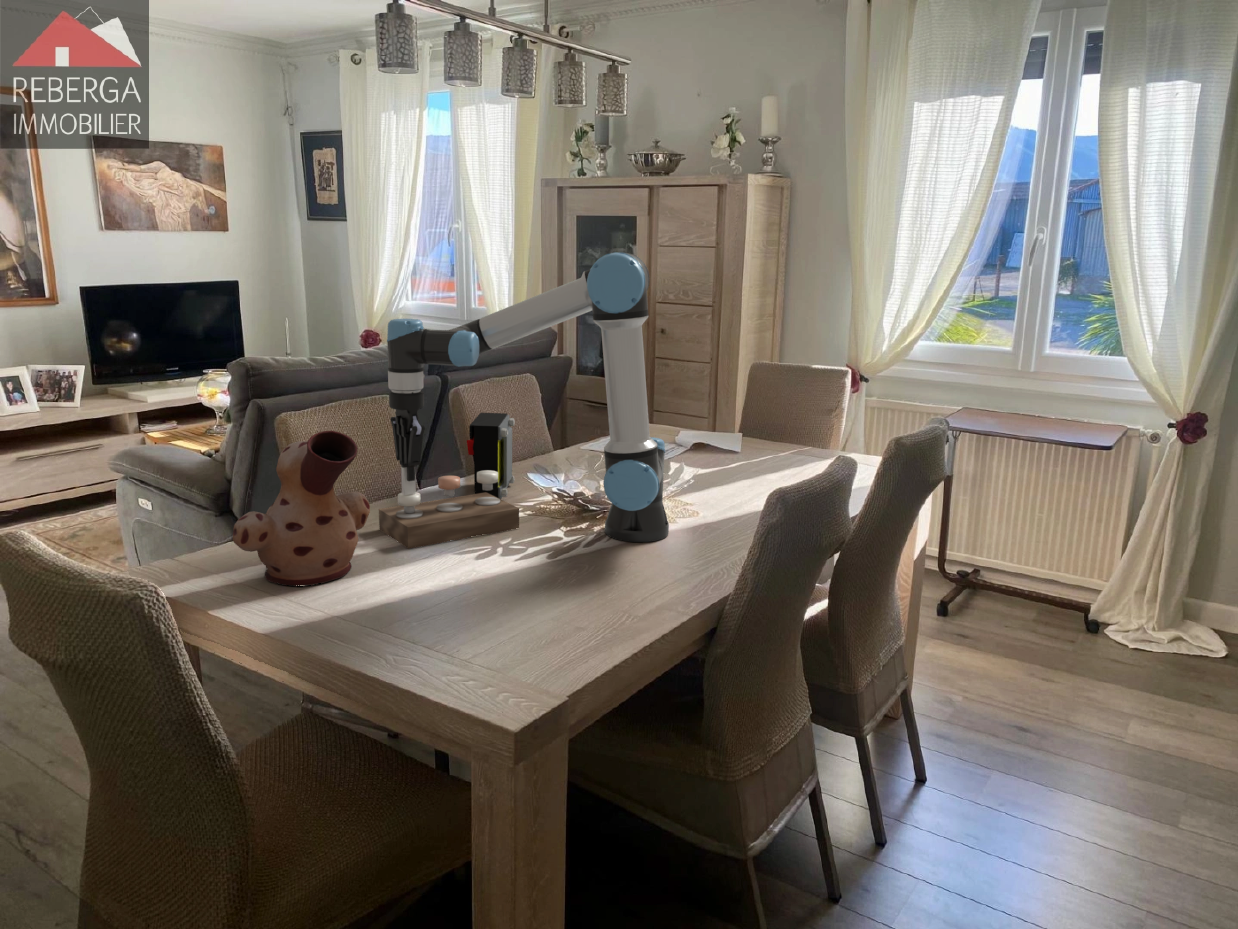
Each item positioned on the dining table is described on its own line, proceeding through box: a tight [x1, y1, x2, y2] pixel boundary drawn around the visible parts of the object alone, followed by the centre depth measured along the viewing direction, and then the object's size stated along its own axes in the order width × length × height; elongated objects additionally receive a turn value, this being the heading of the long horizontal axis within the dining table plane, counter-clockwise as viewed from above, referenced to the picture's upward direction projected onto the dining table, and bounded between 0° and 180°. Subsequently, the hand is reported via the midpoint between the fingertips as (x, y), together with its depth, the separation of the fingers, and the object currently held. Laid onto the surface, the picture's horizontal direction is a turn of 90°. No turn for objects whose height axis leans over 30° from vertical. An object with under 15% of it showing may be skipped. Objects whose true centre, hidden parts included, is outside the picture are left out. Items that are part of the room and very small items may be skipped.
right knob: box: [477, 470, 498, 491], centre depth 220 cm, size 5×5×4 cm
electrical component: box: [466, 412, 516, 500], centre depth 246 cm, size 18×10×20 cm, turn 179°
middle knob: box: [437, 475, 461, 497], centre depth 214 cm, size 5×5×4 cm
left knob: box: [397, 491, 421, 513], centre depth 209 cm, size 5×5×4 cm
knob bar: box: [378, 492, 520, 550], centre depth 216 cm, size 16×28×6 cm, turn 127°
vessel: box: [232, 430, 371, 587], centre depth 182 cm, size 29×22×30 cm
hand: (408, 493), depth 208 cm, fingers closed
